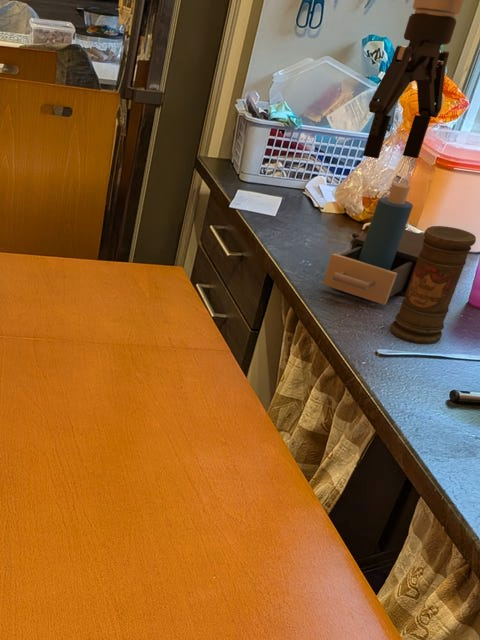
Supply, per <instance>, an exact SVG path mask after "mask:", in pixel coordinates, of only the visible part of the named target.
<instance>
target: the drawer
mask: <svg viewBox="0 0 480 640" xmlns="http://www.w3.org/2000/svg"><path fill="white" fill-rule="evenodd" d="M362 248H363V246H362V245H361V246H359V247H356V248H354V249H352V250H351V249H350V250H348V251H347V250H346V251H345V252H342V253H341V254H338V253H334V252H333V253H332V254H331V257H330V259H329V262H328V266H327V269H326V272H325V275H324V278H323V281H322V285H323V286H326V287H328V288H332V289H335V290H338V291H340V292H344V293H347V294H350V295H353V296H356V297H359V298H363V299H365V300H368V301H370V302H373V303H377V304H380V305H383V306H384V305H386V304H387V303H388V300H389V298H390V297H393V296H394V295H397V294H396V293H398V292H399V291H401V290H403V289H405V288H406V287H407V285H408V282H409V279H410V277H411V274H412V271H413V269H414V266H415V263H416V262H415V261H412V260H408V259H405V258H402V257H398V256H395V258H394V260H393V263H392V266H391V269H390V271H389V270H386V269H383V268H380V267H377V266H373V265H370V264H367V263H364V262H361V261H358V260H359V257H360V254H361V251H362Z"/></svg>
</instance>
